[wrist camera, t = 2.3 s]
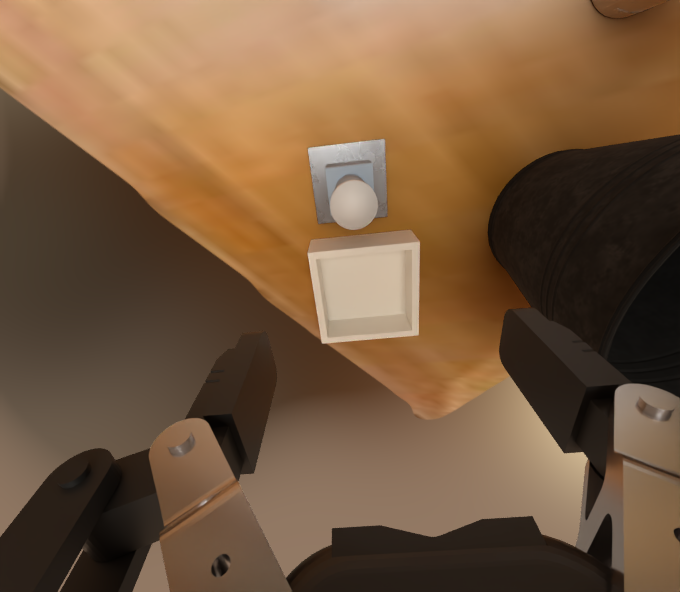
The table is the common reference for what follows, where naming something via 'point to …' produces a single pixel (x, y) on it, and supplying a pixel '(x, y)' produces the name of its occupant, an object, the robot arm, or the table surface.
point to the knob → (351, 193)
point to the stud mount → (347, 153)
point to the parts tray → (366, 285)
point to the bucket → (601, 250)
